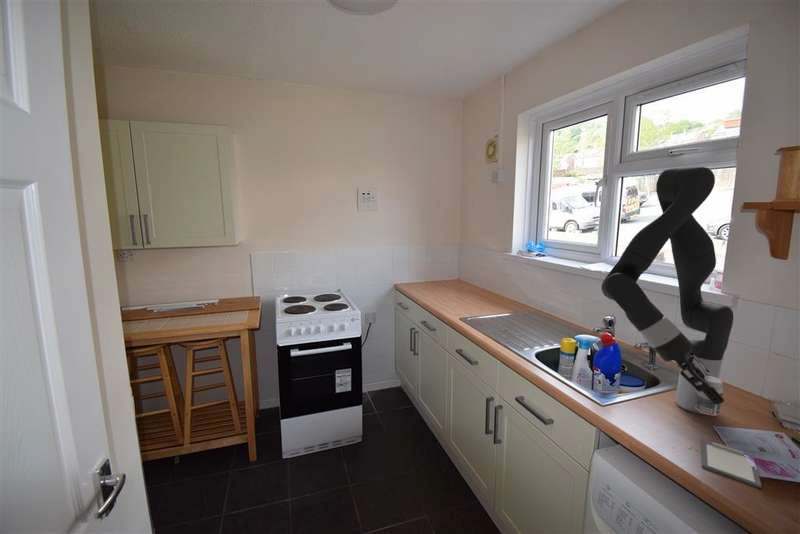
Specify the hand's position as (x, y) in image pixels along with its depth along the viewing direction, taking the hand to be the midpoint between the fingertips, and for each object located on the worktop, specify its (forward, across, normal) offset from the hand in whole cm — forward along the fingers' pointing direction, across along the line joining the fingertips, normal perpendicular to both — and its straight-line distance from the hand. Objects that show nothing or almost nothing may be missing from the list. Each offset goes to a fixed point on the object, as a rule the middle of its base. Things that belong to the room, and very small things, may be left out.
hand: (719, 397), depth 86 cm
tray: (+14, 0, +9) cm, 16 cm away
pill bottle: (+2, 0, +4) cm, 5 cm away
